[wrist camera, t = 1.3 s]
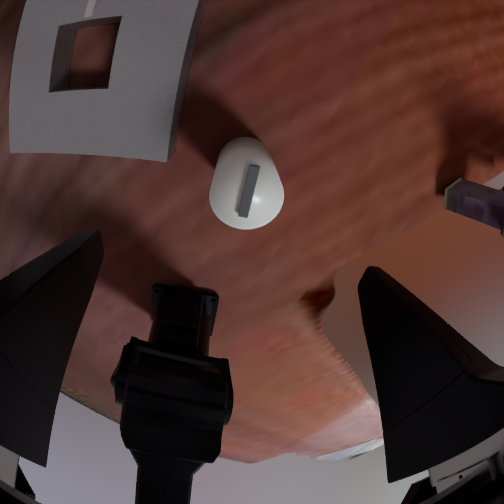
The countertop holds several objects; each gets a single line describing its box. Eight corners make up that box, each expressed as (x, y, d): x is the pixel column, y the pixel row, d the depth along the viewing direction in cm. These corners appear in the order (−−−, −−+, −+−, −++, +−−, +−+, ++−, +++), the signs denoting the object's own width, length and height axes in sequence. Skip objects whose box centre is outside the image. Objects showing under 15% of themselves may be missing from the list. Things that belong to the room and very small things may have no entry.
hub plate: (175, 151, 18) (165, 163, 16) (27, 143, 15) (8, 153, 13) (216, -29, 10) (213, -44, 8) (48, -8, 8) (28, -12, 5)
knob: (264, 191, 20) (273, 237, 15) (213, 181, 19) (203, 225, 14) (277, 143, 18) (293, 173, 13) (223, 132, 17) (215, 157, 12)
